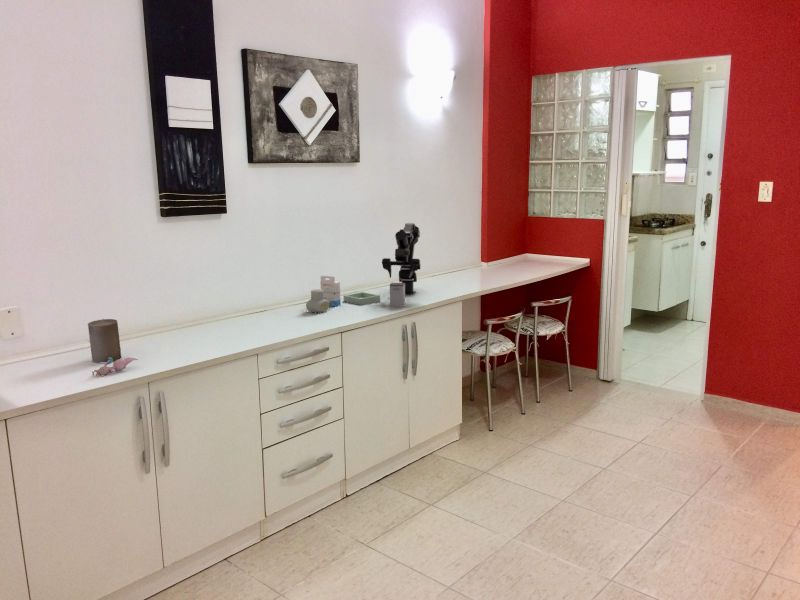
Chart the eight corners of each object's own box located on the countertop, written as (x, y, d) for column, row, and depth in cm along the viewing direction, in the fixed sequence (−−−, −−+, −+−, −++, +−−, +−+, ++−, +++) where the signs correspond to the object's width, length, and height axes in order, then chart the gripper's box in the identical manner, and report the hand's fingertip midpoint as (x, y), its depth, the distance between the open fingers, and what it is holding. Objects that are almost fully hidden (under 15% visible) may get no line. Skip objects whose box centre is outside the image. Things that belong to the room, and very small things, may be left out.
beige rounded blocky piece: (317, 314, 304) (316, 293, 302) (303, 312, 309) (302, 291, 307) (332, 310, 313) (331, 289, 311) (318, 308, 318) (317, 287, 316)
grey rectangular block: (391, 304, 324) (391, 282, 322) (405, 305, 323) (404, 282, 321) (389, 307, 318) (389, 284, 316) (403, 307, 317) (403, 285, 315)
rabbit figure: (100, 382, 216) (142, 365, 226) (95, 366, 214) (138, 349, 224) (91, 378, 220) (133, 361, 230) (86, 362, 218) (129, 346, 228)
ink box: (341, 305, 325) (340, 275, 322) (335, 307, 320) (334, 276, 317) (326, 303, 329) (325, 274, 326) (320, 305, 324) (319, 275, 321)
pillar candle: (124, 354, 242) (120, 314, 239) (117, 362, 233) (113, 320, 230) (96, 356, 241) (91, 316, 238) (88, 364, 232) (83, 322, 229)
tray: (362, 297, 342) (362, 291, 341) (380, 301, 333) (380, 295, 332) (343, 301, 333) (343, 295, 332) (360, 305, 324) (360, 299, 323)
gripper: (382, 242, 328) (378, 267, 320) (419, 242, 325) (416, 268, 317) (385, 255, 337) (381, 280, 329) (421, 256, 335) (419, 281, 326)
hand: (399, 277), depth 325 cm, fingers open, 9 cm apart
